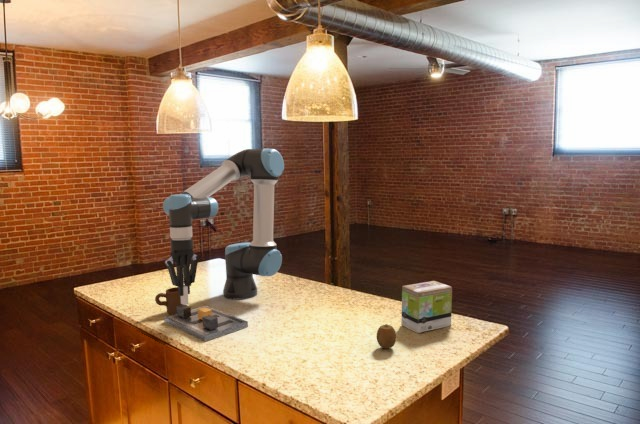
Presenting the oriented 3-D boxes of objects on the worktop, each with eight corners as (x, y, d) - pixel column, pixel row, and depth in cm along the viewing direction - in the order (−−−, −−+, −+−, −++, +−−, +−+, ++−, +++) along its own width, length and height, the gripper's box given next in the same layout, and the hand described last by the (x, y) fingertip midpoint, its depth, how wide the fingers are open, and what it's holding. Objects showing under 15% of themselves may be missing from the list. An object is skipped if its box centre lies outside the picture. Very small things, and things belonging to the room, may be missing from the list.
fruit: (383, 354, 145) (382, 329, 144) (373, 346, 151) (372, 322, 150) (400, 350, 148) (400, 325, 147) (389, 343, 154) (389, 319, 153)
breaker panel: (205, 310, 191) (205, 296, 190) (248, 326, 171) (247, 311, 170) (164, 322, 178) (163, 307, 177) (204, 341, 158) (203, 325, 158)
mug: (159, 319, 181) (158, 295, 180) (153, 314, 187) (151, 291, 186) (189, 312, 188) (188, 289, 187) (182, 308, 194) (181, 285, 193)
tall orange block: (204, 316, 177) (204, 307, 177) (212, 319, 174) (211, 309, 173) (197, 318, 175) (197, 309, 174) (205, 321, 171) (204, 311, 171)
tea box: (418, 334, 160) (419, 292, 159) (400, 325, 169) (400, 285, 167) (452, 326, 167) (452, 285, 165) (433, 317, 176) (433, 279, 174)
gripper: (192, 235, 172) (195, 297, 175) (158, 239, 163) (162, 305, 166) (203, 237, 167) (206, 301, 170) (169, 242, 158) (173, 310, 160)
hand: (184, 303), depth 168 cm, fingers closed
